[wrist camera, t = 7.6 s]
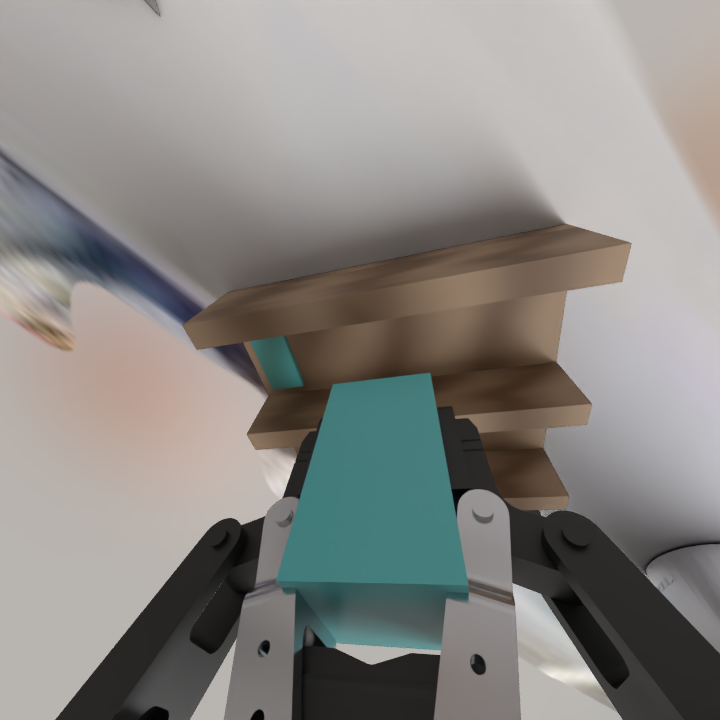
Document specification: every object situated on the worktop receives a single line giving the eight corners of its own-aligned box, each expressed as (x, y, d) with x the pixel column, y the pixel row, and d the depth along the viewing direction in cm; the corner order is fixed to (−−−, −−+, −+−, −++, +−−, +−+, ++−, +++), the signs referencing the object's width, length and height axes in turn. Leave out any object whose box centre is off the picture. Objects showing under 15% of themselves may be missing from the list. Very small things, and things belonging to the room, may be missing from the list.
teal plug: (430, 372, 11) (468, 584, 6) (438, 442, 13) (472, 652, 8) (332, 384, 12) (275, 580, 6) (354, 448, 14) (326, 642, 8)
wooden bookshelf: (566, 223, 15) (631, 242, 11) (536, 450, 24) (565, 509, 20) (228, 291, 19) (182, 324, 15) (309, 464, 28) (294, 515, 24)
